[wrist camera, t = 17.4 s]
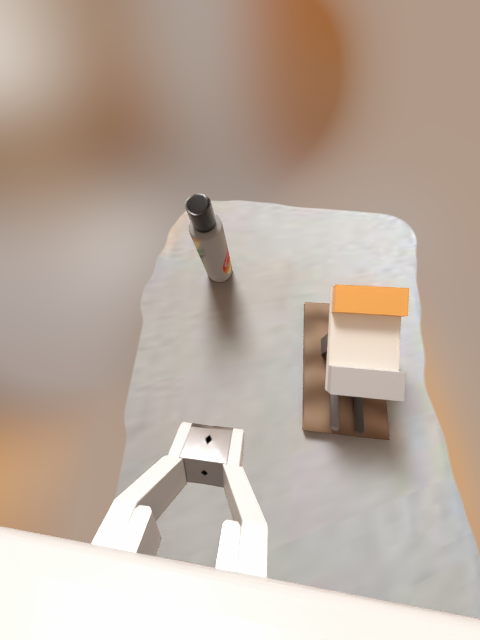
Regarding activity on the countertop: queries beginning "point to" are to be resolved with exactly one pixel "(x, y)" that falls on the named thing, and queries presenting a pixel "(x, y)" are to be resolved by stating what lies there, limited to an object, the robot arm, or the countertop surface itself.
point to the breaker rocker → (365, 342)
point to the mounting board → (319, 398)
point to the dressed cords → (357, 413)
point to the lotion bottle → (209, 237)
